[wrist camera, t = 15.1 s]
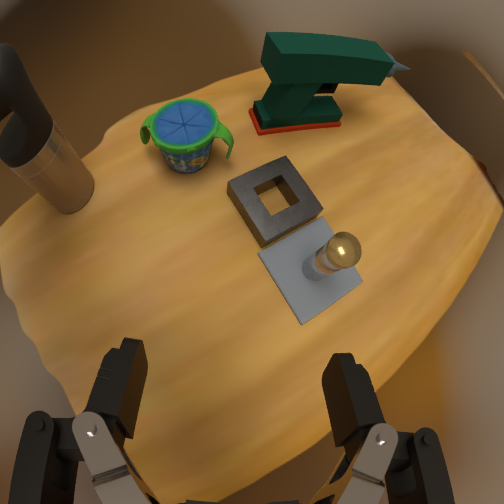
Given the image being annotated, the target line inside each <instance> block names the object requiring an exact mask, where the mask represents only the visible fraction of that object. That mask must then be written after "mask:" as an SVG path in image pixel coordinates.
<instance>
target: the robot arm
mask: <svg viewBox="0 0 504 504" xmlns="http://www.w3.org/2000/svg"><path fill="white" fill-rule="evenodd" d="M12 111H13V112H14V113H13V115H12V117H11V118H10V120H9V121H8V122H7V124H6V126H5V127H4V129H3V131H2V133H1V135H0V158H1V160H3V162H4V163H5V164H7V165H8V166H9V167H10V168H11V169H12V170H13V171H14V172H15V173H16V174H17V175H18V176H20V177H21V178H22V179H23V180H24V181H25V182H26V183H27V184H29V185H30V186H31V187H32V188H33V189H34V190H35V191H36V192H37V193H39V194H40V195H41V196H42V197H43V198H44V199H46V200H47V201H48V202H49V203H50V204H51V205H53V206H54V207H55V208H56V209H57V210H59V211H60V212H62V213H65V214H70V213H74V212H76V211H78V210H80V209H81V208H82V207H83V206H84V205H85V204H86V203H87V202H88V200H89V199H90V197H91V195H92V192H93V189H94V179H93V177H92V175H91V173H90V172H89V171H88V169H87V168H86V167H85V165H84V164H83V162H82V161H81V160H80V158H79V157H78V155H77V154H76V153H75V151H74V150H73V148H72V147H71V146H70V144H69V143H68V141H67V140H66V138H65V137H64V135H63V134H62V132H61V131H60V130H59V128H58V127H57V125H56V124H55V122H54V121H53V119H52V117H51V116H50V114H49V113H48V111H47V110H46V108H45V106H44V105H43V103H42V101H41V99H40V98H39V96H38V94H37V92H36V91H35V89H34V87H33V85H32V83H31V81H30V79H29V77H28V75H27V72H26V70H25V68H24V66H23V63H22V61H21V59H20V57H19V55H18V54H17V52H16V51H15V49H14V48H13V47H12V46H11V45H9V44H7V43H2V44H0V121H1V120H2V119H3V118H5V117H6V116H7V115H8V114H9V113H11V112H12ZM147 370H148V362H147V358H146V353H145V349H144V344H143V341H142V340H138V339H132V338H126V337H125V338H124V339H123V341H122V344H121V346H120V349H116V348H112V349H111V350H110V351H109V352H108V353H107V354H106V355H105V356H104V358H103V361H102V363H101V366H100V369H99V371H98V374H97V377H96V380H95V382H94V385H93V388H92V391H91V394H90V397H89V400H88V403H87V406H86V408H85V410H84V411H83V412H82V413H80V414H79V415H77V416H76V417H73V418H51V417H50V416H49V415H48V414H47V413H45V412H43V411H35V412H32V413H31V414H30V415H29V416H28V417H27V419H26V422H25V425H24V428H23V432H22V436H21V439H20V443H19V447H18V451H17V455H16V460H15V465H14V470H13V475H12V481H11V487H10V494H9V502H8V504H73V502H74V491H75V484H76V477H77V470H78V463H79V461H85V462H86V464H87V466H88V468H89V470H90V472H91V474H92V477H93V481H92V482H93V486H94V488H95V490H96V492H97V494H98V496H99V498H100V499H101V501H102V503H103V504H161V503H160V502H159V501H158V499H157V498H156V496H155V495H154V494H153V492H152V491H151V489H150V488H149V487H148V486H147V484H146V483H145V482H144V480H143V479H142V477H141V476H140V474H139V472H138V471H137V469H136V468H135V466H134V464H133V463H132V461H131V459H130V457H129V456H128V454H127V452H126V450H125V449H124V447H123V446H124V441H125V438H129V439H133V435H134V430H135V425H136V420H137V415H138V411H139V406H140V402H141V397H142V393H143V389H144V384H145V380H146V376H147ZM371 383H372V382H371V379H370V377H369V374H368V372H367V371H366V370H365V368H364V367H363V366H362V365H361V364H356V363H355V360H354V357H353V355H352V354H351V353H334V354H333V355H332V357H331V359H330V361H329V363H328V365H327V367H326V368H325V370H324V372H323V375H322V387H323V391H324V396H325V400H326V405H327V409H328V414H329V418H330V423H331V427H332V432H333V437H334V442H335V447H341V446H344V448H345V452H344V453H343V455H342V457H341V458H340V460H339V462H338V464H337V466H336V468H335V469H334V471H333V473H332V474H331V476H330V477H329V479H328V481H327V482H326V484H325V485H324V486H323V488H321V489H320V491H319V492H318V493H317V494H316V495H315V496H314V498H313V499H312V501H311V502H310V504H378V502H379V501H380V499H381V496H382V494H383V492H384V489H385V484H383V478H384V476H385V482H386V488H387V494H388V500H389V504H455V502H454V497H453V492H452V487H451V483H450V479H449V475H448V471H447V467H446V463H445V459H444V456H443V452H442V449H441V446H440V442H439V439H438V436H437V434H436V433H435V432H434V431H433V430H432V429H430V428H421V429H419V430H418V431H417V432H415V433H408V432H398V431H396V430H395V429H394V428H393V427H392V426H391V425H389V424H386V422H385V420H384V417H383V414H382V411H381V409H380V405H379V402H378V399H377V396H376V394H375V392H374V388H373V385H372V384H371ZM179 504H219V503H215V502H204V501H193V500H186V503H179ZM268 504H299V501H298V500H294V501H284V502H271V503H268Z"/></svg>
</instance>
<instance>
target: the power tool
mask: <svg viewBox="0 0 504 504" xmlns="http://www.w3.org/2000/svg"><path fill="white" fill-rule="evenodd" d="M261 64H262V65H263V67H264V69H265V71H266V72H267V74H268V76H269V78H270V80H271V81H272V82H271V84H270V86H269V87H268V89H267V91H266V93H265V94H264V96H263V98H262V100H259V101H254V105H253V108H250V109H249V114H250V117H251V119H252V122H253V124H254V127H255V129H256V131H257V134H258V136H260V135H267V134H274V133H281V132H289V131H298V130H307V129H317V128H329V127H340V125H341V122H340V118H341V116H342V115H343V114H342V112H341V110H340V109H339V107H338V105H337V104H336V102H335V101H334V99H333V97H332V96H314V95H315V94H321V93H334V92H335V90H336V88H337V86H338V84H339V83H343V84H363V85H377V86H380V85H381V84H382V82H383V81H384V79H385V77H391V76H392V75H393V74H394V72H395V71H401V70H410V69H409V68H408V67H406V66H404V65H402V64H400V63H398V62H396V61H395V60H394V58H393V57H392V55H390V54H389V53H387V52H385V51H384V50H383V49H382V48H381V47H380V46H379V45H378V44H377V43H376V42H373V41H368V40H362V39H357V38H349V37H343V36H335V35H325V34H313V33H294V32H266V36H265V41H264V46H263V51H262V56H261Z"/></svg>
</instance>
